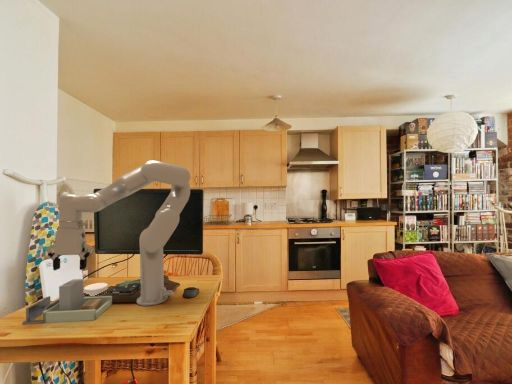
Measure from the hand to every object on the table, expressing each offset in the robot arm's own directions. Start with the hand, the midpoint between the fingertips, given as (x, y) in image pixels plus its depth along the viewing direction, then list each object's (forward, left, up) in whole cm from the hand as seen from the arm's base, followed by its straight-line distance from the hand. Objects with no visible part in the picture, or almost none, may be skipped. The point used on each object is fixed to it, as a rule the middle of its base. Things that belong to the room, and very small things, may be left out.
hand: (69, 269), depth 108 cm
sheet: (-1, 0, -17) cm, 17 cm away
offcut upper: (-8, 0, -16) cm, 17 cm away
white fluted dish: (+1, -24, -18) cm, 30 cm away
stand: (+8, 0, -17) cm, 19 cm away
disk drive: (-13, -26, -18) cm, 34 cm away
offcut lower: (-8, 0, -18) cm, 20 cm away
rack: (-4, 0, -17) cm, 18 cm away
